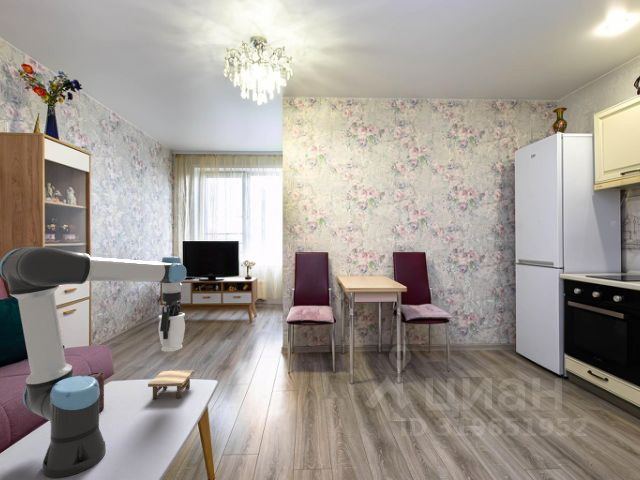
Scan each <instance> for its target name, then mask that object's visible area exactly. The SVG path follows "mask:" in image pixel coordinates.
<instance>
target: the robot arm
mask: <svg viewBox="0 0 640 480" xmlns="http://www.w3.org/2000/svg"><path fill="white" fill-rule="evenodd" d="M0 275H1V277H2V278H3V279H4V280H5V281H6V283H7V285H8V286H7V287H8V292H9V295H10V296H12V297H14V298H15V299H16V300H17V302H18V307H19V314H20V319H21V324H22V330H23V331H22V332H23V337H24V342H25V348H26V352H27V358H28V359H27V360H28V365H29V370H30V374H29V375H28V376H27V377H26V379H25V385H26V386H25V388H24V390H23V393H22V401H23V404H24V406H25V407H26V409H27V410H28V411H29V412H31V413H32V414H35V415H38V416H40V417H42V418H44V419H45V420H47V421H48V422H50V443H49V445H48V447H47V450H46V453H45V456H44V458H43V461H42V474H43V475H44V476H45V477H47V478H52V479H53V478H54V479H57V478H59V479H60V478H66V477H69V476H73V475H77V474H79V473H81V472H84V471H86V470H88V469H90V468H92V467H93V466H95V465H96V464H97V463H99V462H100V461H101V460H102V459H103V457H104V456H105V454H106V449H107V447H106V446H107V445H106V441H105V440H104V436H103V435H102V434H103V433H102V432H101V428H100V412H99V395H100V389H99V383H98V381H97V380H96V379H95V378H93V377H90V376H88V375H84V376H82V375H75V376H74V369H73V365H71V363H70V364H69V363H67V362H66V357H65V352H64V351H65V350H64V345H63V339H62V334H61V333H62V332H61V326H60V321H59V313H58V308H57V302H56V298H55V292H56V291H57V289H59V287H60V286H63V285H65V286H66V285H83V284H85V283H87V282H132V283H133V282H134V283H135V282H136V283H137V282H139V283H140V282H141V283H144V282H145V283H161V284H162V285H161V292H162V294H161V300H162V302H165V306H162V307H161V309H162V310H161V311H162V313H161V315H162V319H161V327H160V331H163V346H162V347H170V331H169V328H170V320H169V317H172V316H179V313H178V312H181V313H182V307H181V300H182V292H181V290H182V286H183V284H182V282H183V281H184V280H185V279H186V277H187V268H186V266H184V264H182V261H181V257H180V256H163V257H162V259H161V261H148V260H147V261H146V260H138V259H137V260H134V259H125V258H124V259H121V258H110V257H98V256H97V257H96V256H91V255H89V254H88V253H85V252H76V251H69V250H64V249H60V248H55V247H50V246H49V247H48V246H24V247H19V248H15V249H12V250H11V251H9V252H7V253H6V254H5V255H4V256H3V257H2V259H1V260H0Z"/></svg>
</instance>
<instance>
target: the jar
mask: <svg viewBox="0 0 640 480" xmlns="http://www.w3.org/2000/svg"><path fill="white" fill-rule="evenodd" d="M178 313H179V316H172V317H169V320H170V328H169V331H170V347H163V331H160V327H161V319H162V314H159V315H158V319H159V323H158V335H159V336H158V337H159V342H160V344H161V349H160V350H161V351H162V352H165V353H166V352H175V351H179V350H181V349H182V348H183V344H182V343H183V342H184V337H185V331H186V323H185V319H184V317H185V316H186V313H185V312H182V311H181V312H178Z"/></svg>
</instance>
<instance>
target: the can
mask: <svg viewBox="0 0 640 480" xmlns="http://www.w3.org/2000/svg"><path fill="white" fill-rule="evenodd" d="M87 376H90V377H93V378H95V379H96V380H97V381H98V383H99V389H100V395H99V413H101V412H102V411H103V410H104V408H105V386H104V385H105V375H104V373H103V372H94V373H90V374H88V375H87Z"/></svg>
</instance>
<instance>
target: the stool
mask: <svg viewBox="0 0 640 480" xmlns="http://www.w3.org/2000/svg"><path fill="white" fill-rule="evenodd" d="M193 374H195V373H194V370H193V369H189V370H187V369H186V370H184V369H182V370H162V371H161V372H160V373H158V375H156V376H155V377H154V378H153V379H152V380H150V381H149V382H148V383H147V387H148V388H152V400H158V393H159V392H160V391H161V390H162V389H163V390H166V389H168V387H176V399H177V400H179V399H182V396H183V395H182V392H183V391H184V390H185V389H190V388H191V383H190V382H191V381H190V380H191V376H192V375H193Z"/></svg>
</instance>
